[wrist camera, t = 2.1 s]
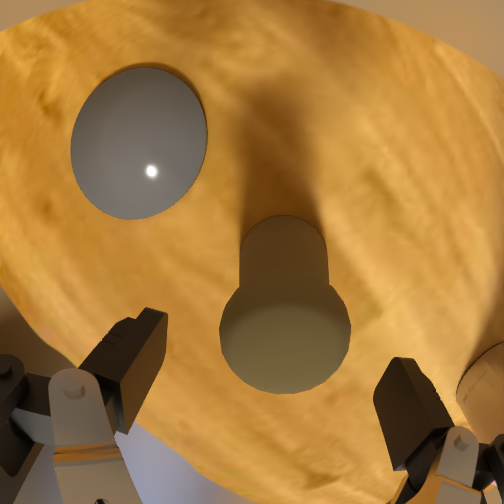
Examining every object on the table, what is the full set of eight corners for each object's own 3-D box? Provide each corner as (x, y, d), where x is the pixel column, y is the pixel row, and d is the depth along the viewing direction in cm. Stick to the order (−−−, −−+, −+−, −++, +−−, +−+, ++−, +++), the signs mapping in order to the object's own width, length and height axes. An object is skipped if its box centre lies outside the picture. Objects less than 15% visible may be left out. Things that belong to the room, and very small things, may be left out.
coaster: (222, 74, 17) (221, 71, 16) (192, 231, 20) (189, 233, 20) (89, 71, 17) (85, 70, 16) (69, 205, 20) (64, 206, 20)
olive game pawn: (261, 200, 19) (238, 248, 9) (342, 238, 19) (402, 321, 9) (226, 278, 21) (180, 382, 11) (302, 311, 21) (314, 429, 11)
